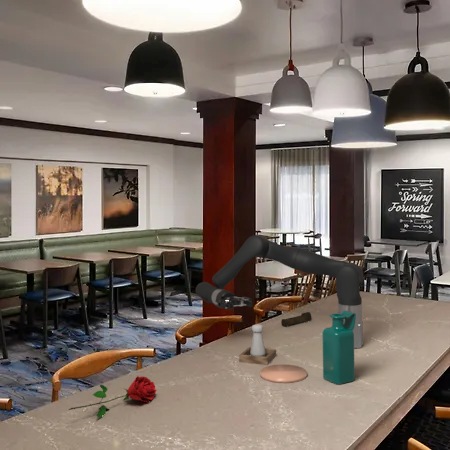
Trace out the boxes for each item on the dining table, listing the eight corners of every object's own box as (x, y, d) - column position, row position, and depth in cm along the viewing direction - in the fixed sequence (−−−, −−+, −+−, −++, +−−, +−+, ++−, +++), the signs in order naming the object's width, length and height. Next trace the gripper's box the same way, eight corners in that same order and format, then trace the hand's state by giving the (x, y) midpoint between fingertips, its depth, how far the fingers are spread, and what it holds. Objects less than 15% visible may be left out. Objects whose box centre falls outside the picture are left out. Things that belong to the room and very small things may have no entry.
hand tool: (286, 328, 242) (286, 318, 242) (280, 326, 245) (280, 316, 245) (315, 321, 253) (315, 312, 253) (309, 320, 256) (309, 311, 256)
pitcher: (337, 385, 166) (336, 318, 165) (320, 377, 174) (319, 313, 173) (360, 380, 171) (359, 314, 170) (343, 372, 178) (342, 309, 177)
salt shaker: (249, 356, 199) (248, 323, 198) (264, 356, 199) (263, 322, 199) (251, 361, 193) (250, 327, 192) (266, 360, 193) (266, 326, 193)
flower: (75, 387, 139) (160, 367, 162) (58, 396, 145) (142, 376, 167) (83, 421, 137) (168, 396, 159) (65, 429, 142) (150, 404, 164)
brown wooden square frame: (276, 355, 199) (276, 349, 199) (267, 364, 189) (267, 357, 189) (249, 353, 203) (249, 347, 203) (239, 361, 193) (239, 355, 193)
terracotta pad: (311, 369, 182) (311, 367, 182) (300, 385, 167) (300, 382, 167) (268, 365, 188) (268, 362, 188) (253, 379, 173) (253, 377, 173)
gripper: (208, 291, 216) (226, 298, 202) (238, 288, 223) (257, 294, 208) (208, 309, 216) (226, 317, 202) (238, 305, 223) (257, 312, 209)
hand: (242, 305), depth 205 cm, fingers open, 8 cm apart
